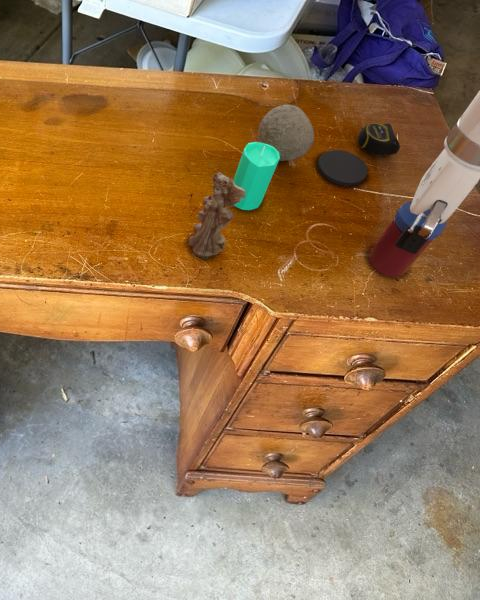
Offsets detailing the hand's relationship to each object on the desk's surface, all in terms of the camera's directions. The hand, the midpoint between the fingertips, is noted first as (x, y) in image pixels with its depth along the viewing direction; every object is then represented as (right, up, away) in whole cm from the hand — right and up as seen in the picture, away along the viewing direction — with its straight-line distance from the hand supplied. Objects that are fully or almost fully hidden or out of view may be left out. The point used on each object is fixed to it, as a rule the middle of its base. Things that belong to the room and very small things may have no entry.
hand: (412, 228), depth 89 cm
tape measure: (+6, +19, +23) cm, 31 cm away
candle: (-22, +7, +14) cm, 27 cm away
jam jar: (0, -5, +7) cm, 8 cm away
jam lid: (0, +1, -2) cm, 3 cm away
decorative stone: (-14, +17, +21) cm, 30 cm away
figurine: (-31, -2, +8) cm, 32 cm away
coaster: (-2, +14, +19) cm, 24 cm away
